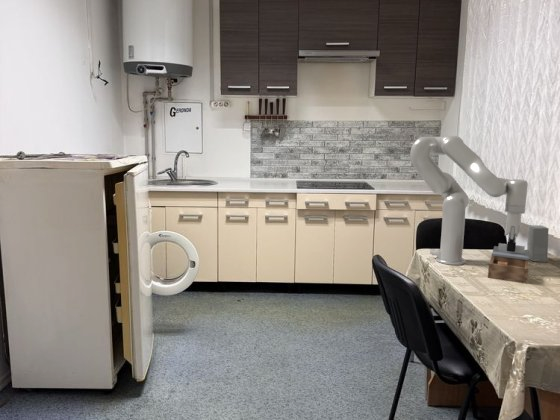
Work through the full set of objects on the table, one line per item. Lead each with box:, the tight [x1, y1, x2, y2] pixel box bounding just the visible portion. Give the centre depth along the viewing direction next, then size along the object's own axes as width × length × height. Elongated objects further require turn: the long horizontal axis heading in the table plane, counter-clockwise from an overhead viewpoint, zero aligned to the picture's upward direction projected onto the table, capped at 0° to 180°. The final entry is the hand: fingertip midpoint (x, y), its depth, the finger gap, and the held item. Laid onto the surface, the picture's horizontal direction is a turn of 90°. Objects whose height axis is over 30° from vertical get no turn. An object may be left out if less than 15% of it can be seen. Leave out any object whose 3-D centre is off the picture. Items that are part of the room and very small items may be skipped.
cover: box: [491, 242, 530, 261], centre depth 195 cm, size 14×14×4 cm
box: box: [487, 255, 530, 284], centre depth 185 cm, size 14×14×6 cm
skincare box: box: [526, 224, 550, 263], centre depth 209 cm, size 8×7×16 cm
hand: (510, 251), depth 193 cm, fingers closed
